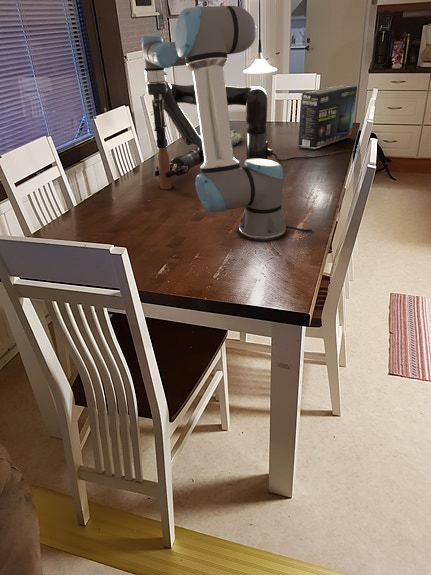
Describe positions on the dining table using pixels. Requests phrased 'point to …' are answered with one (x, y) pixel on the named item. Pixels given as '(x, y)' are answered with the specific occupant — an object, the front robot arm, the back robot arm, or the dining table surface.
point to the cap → (164, 141)
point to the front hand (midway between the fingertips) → (162, 145)
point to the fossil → (236, 136)
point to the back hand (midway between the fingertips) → (161, 174)
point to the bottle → (164, 168)
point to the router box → (326, 115)
